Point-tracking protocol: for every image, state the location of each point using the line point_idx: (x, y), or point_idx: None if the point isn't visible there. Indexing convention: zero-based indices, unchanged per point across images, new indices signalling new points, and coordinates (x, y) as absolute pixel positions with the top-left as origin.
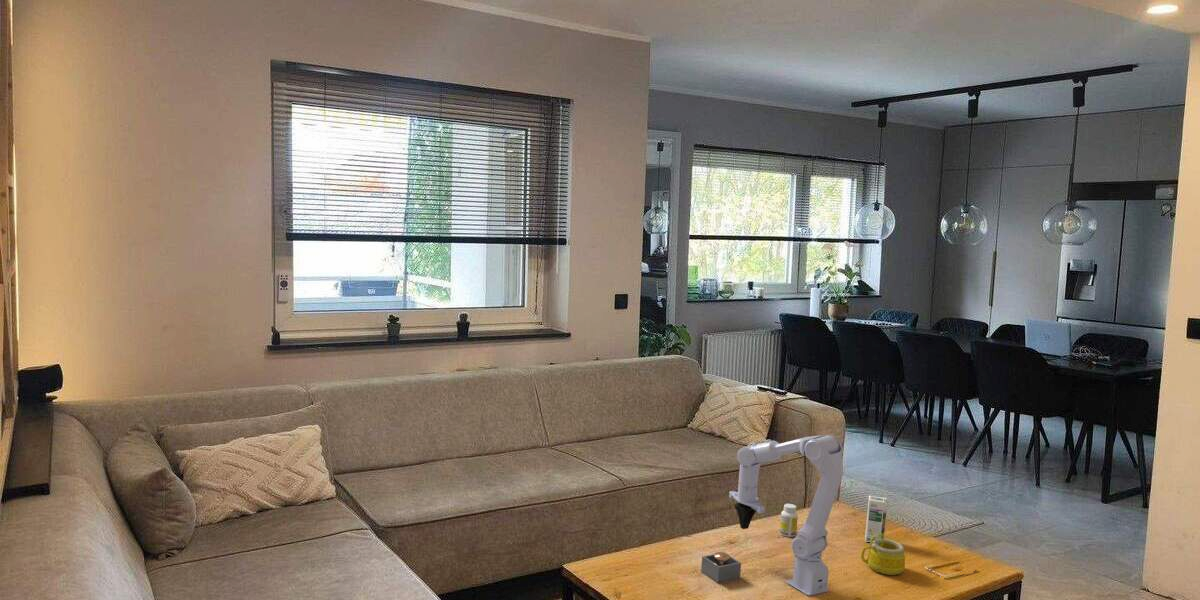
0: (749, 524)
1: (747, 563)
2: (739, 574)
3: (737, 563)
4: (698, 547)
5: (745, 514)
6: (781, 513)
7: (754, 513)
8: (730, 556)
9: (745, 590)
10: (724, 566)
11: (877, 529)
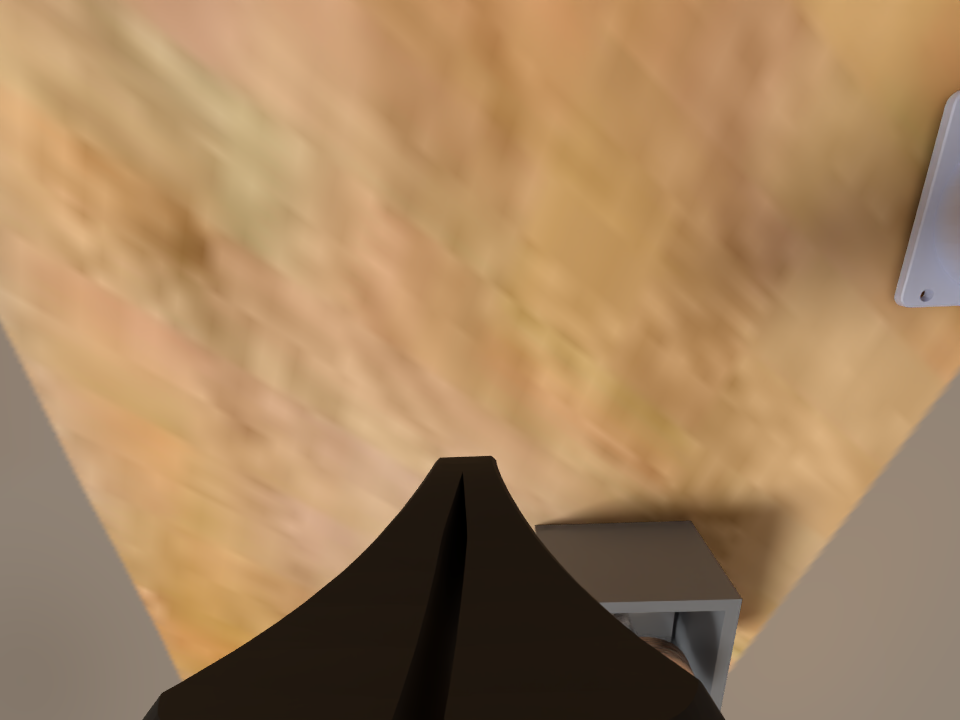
0: (501, 478)
1: (543, 360)
2: (702, 544)
3: (735, 622)
4: (241, 501)
5: None
6: None
7: (608, 619)
8: (625, 604)
9: (807, 567)
10: (720, 698)
11: None
